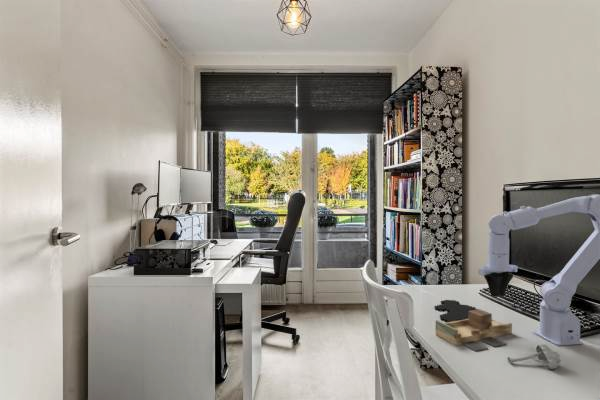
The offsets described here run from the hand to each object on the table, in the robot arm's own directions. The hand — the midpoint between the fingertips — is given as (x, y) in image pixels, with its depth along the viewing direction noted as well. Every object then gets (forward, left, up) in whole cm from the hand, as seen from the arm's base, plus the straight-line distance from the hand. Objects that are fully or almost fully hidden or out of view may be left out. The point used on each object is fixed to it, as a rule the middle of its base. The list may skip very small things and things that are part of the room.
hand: (497, 295), depth 110 cm
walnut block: (-2, +7, -9) cm, 11 cm away
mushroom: (-22, +6, -11) cm, 25 cm away
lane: (-5, +9, -10) cm, 15 cm away
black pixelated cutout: (+12, +5, -11) cm, 17 cm away
